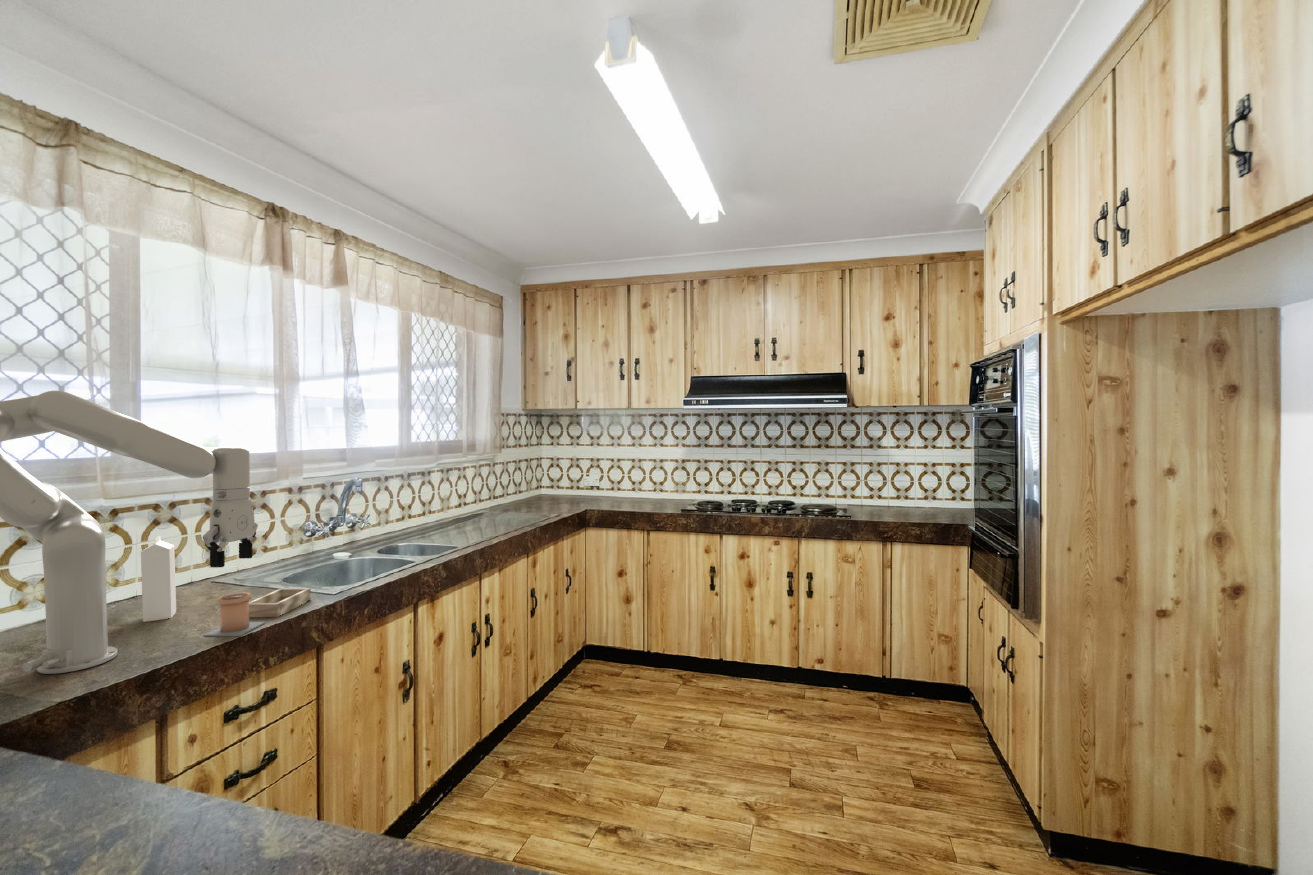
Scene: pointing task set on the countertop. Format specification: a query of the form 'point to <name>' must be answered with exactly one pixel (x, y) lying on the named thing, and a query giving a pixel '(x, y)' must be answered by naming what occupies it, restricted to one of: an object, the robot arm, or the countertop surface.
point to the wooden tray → (279, 602)
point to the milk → (158, 581)
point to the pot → (234, 611)
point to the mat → (237, 633)
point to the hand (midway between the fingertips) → (231, 562)
